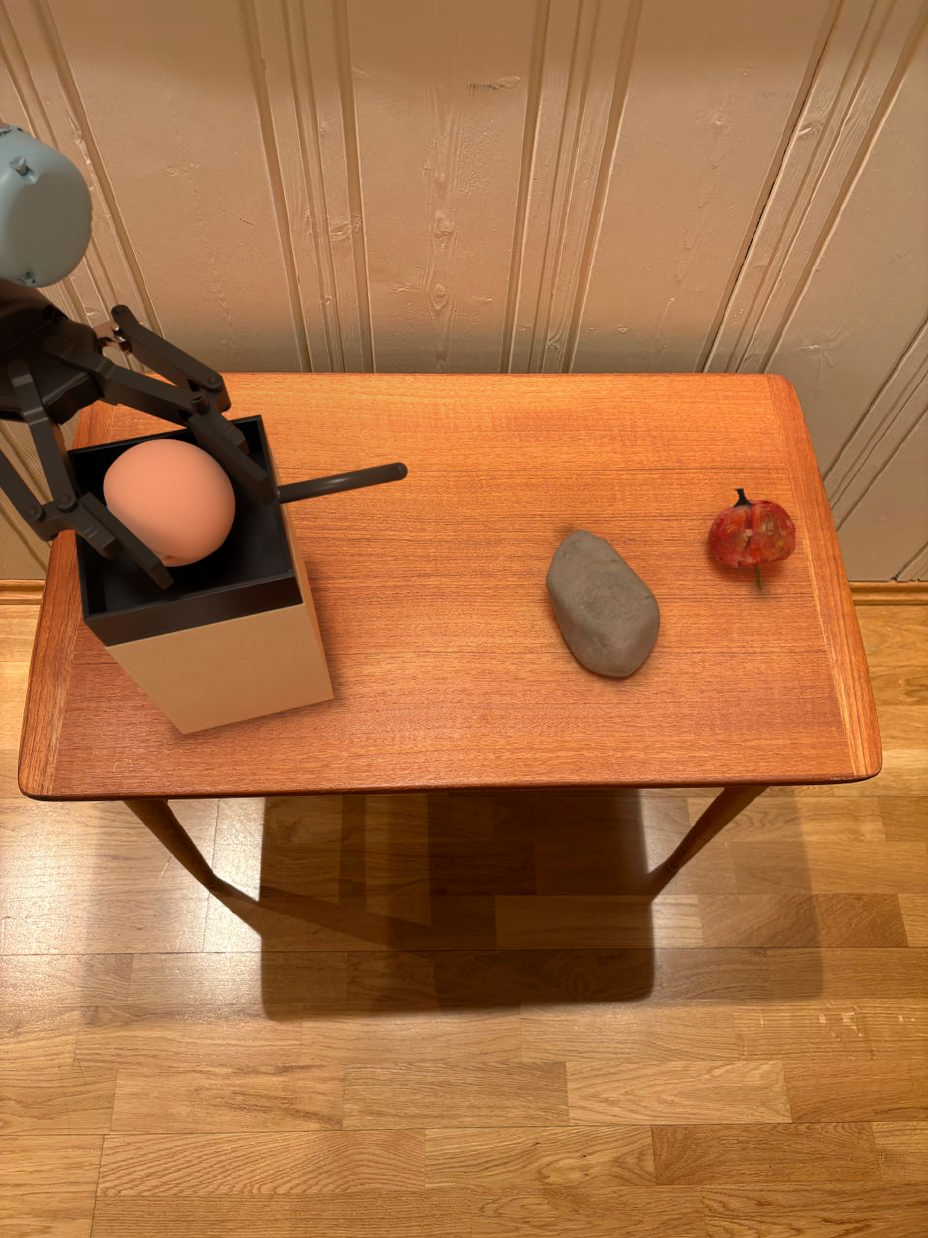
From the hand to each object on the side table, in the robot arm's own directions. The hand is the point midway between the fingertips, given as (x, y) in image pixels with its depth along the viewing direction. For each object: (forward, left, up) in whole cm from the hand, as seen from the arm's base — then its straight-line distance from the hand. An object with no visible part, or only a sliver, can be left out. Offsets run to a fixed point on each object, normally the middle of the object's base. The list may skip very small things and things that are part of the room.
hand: (216, 531), depth 50 cm
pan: (+2, +4, -7) cm, 8 cm away
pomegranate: (+44, +2, -26) cm, 52 cm away
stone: (+28, 0, -26) cm, 39 cm away
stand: (-3, +4, -26) cm, 27 cm away
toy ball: (-3, +4, -6) cm, 8 cm away
